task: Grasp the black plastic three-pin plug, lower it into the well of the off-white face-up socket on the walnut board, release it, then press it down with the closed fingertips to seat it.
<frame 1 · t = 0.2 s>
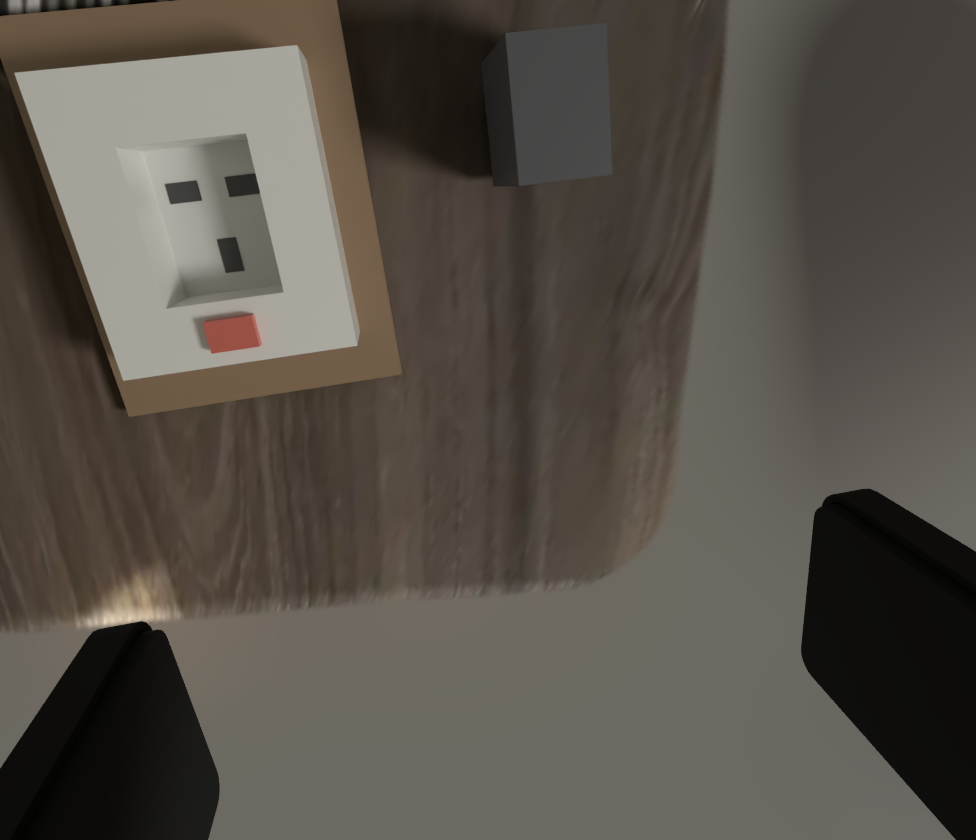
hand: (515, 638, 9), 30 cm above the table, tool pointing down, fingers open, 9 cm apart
socket: (227, 219, 34), on the table
plug: (522, 124, 34), on the table
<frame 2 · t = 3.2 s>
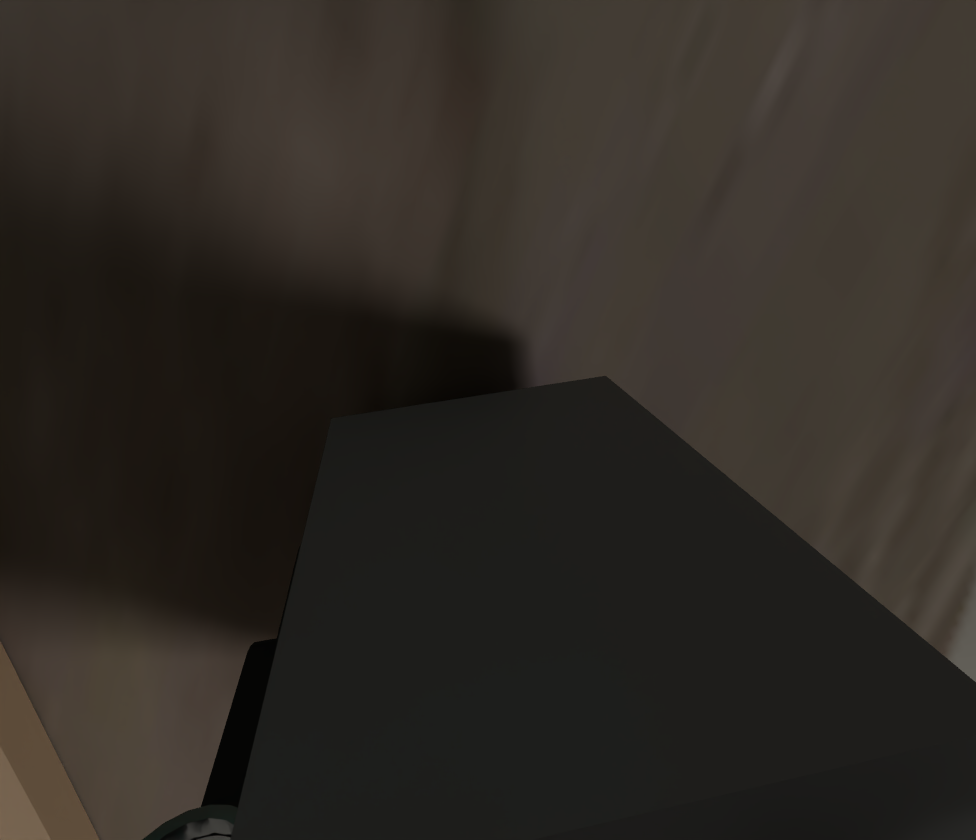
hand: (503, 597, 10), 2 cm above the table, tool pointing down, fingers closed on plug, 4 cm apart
plug: (481, 522, 12), on the table, touching gripper
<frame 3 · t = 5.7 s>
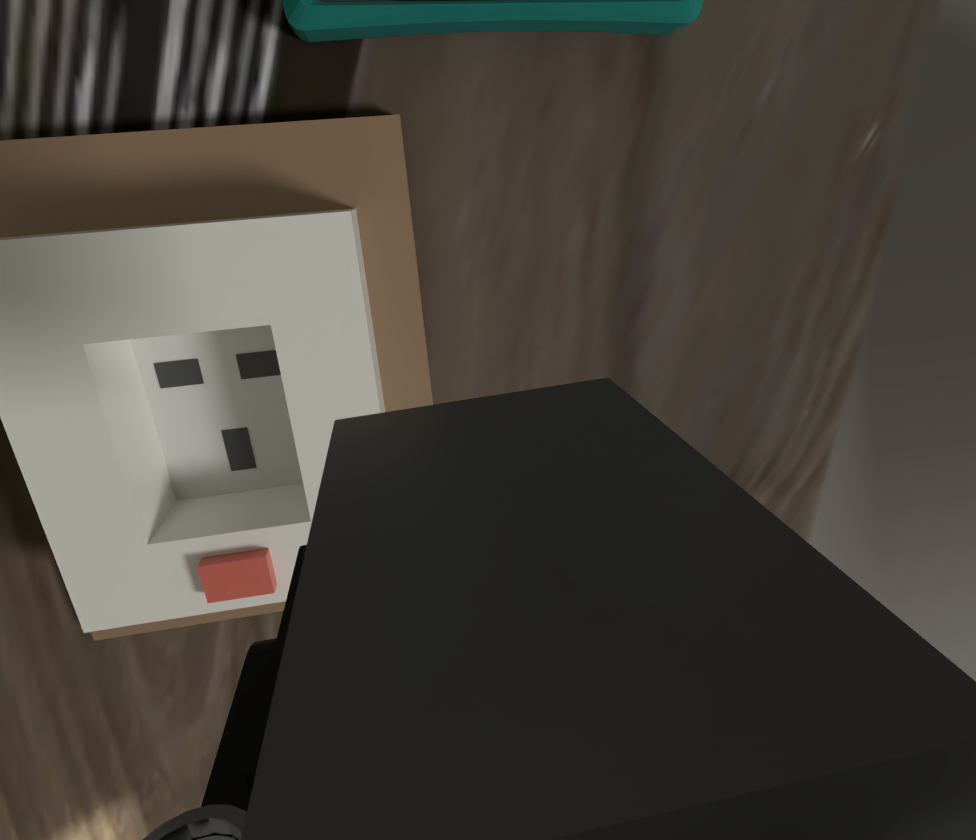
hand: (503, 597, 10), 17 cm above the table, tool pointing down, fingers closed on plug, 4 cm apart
socket: (236, 398, 25), on the table
plug: (484, 524, 12), point 15 cm above the table, touching gripper
when the fingers open (5 cm above the table, at t = 8.3 s): plug drops 2 cm, resting on socket.
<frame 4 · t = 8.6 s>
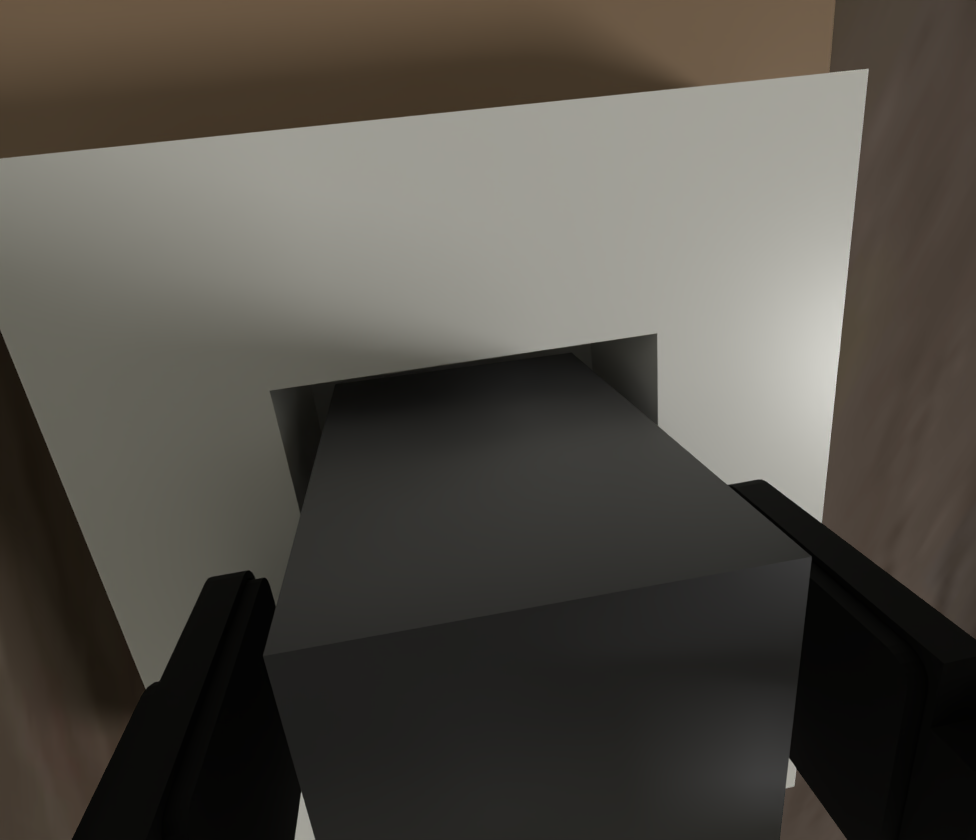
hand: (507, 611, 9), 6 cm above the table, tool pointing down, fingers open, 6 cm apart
socket: (463, 460, 15), on the table
plug: (465, 484, 13), point 1 cm above the table, touching socket
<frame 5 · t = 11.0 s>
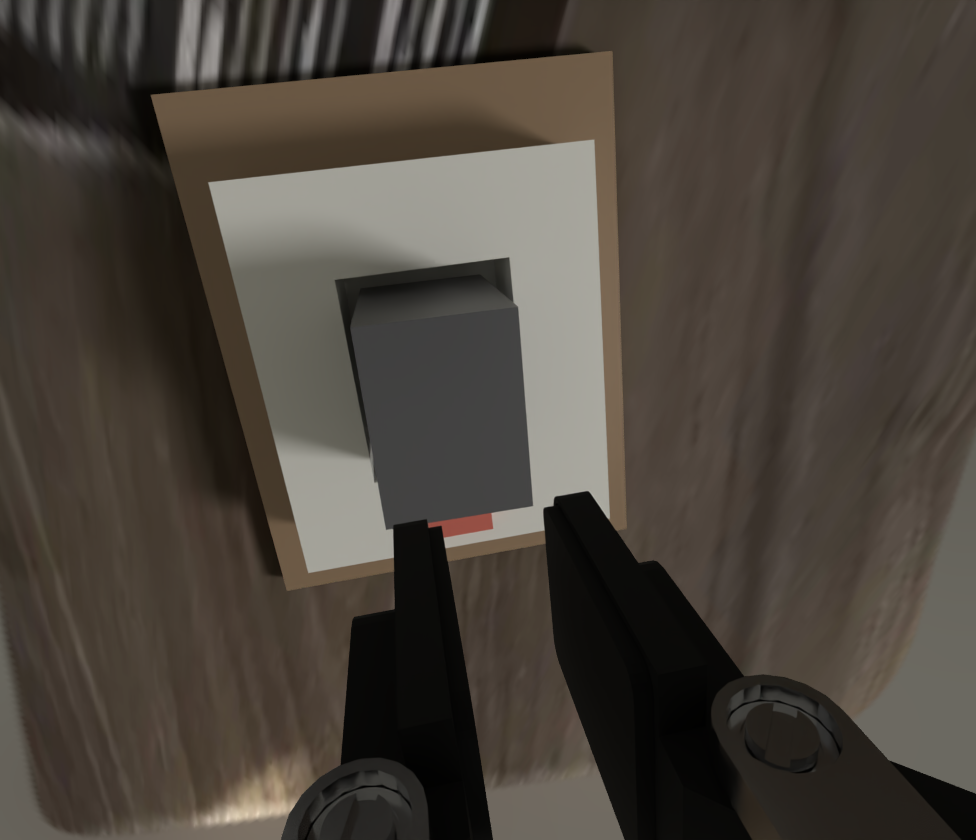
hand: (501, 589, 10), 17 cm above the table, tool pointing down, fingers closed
socket: (429, 345, 26), on the table
plug: (429, 352, 25), point 1 cm above the table, touching socket
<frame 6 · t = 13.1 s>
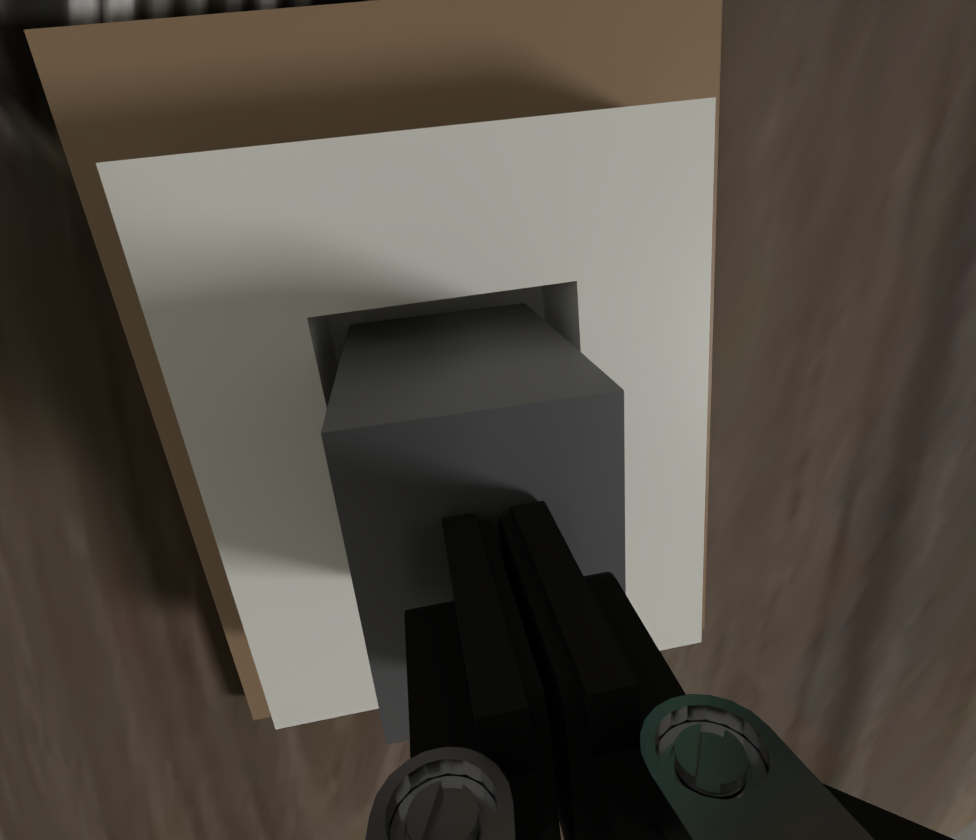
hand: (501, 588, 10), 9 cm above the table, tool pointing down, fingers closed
socket: (447, 394, 19), on the table
plug: (447, 409, 17), point 1 cm above the table, touching gripper, socket
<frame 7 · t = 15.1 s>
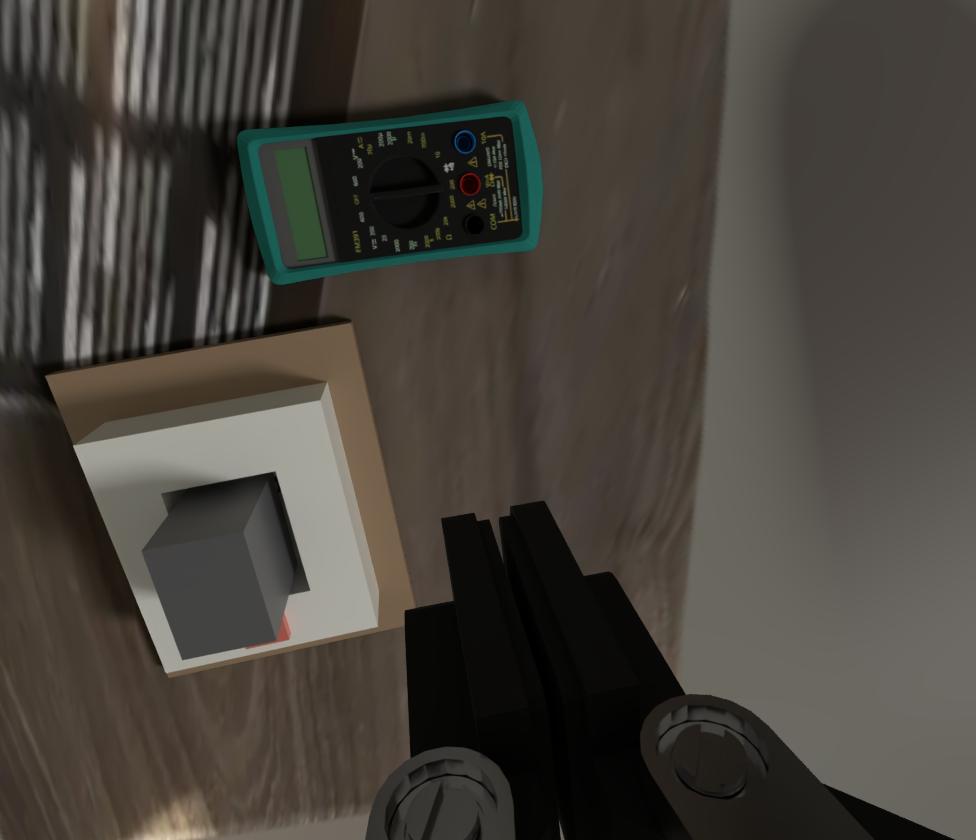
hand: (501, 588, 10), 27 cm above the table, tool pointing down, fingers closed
socket: (256, 505, 37), on the table
digital multimeter: (395, 195, 33), on the table
plug: (250, 515, 36), point 1 cm above the table, touching socket
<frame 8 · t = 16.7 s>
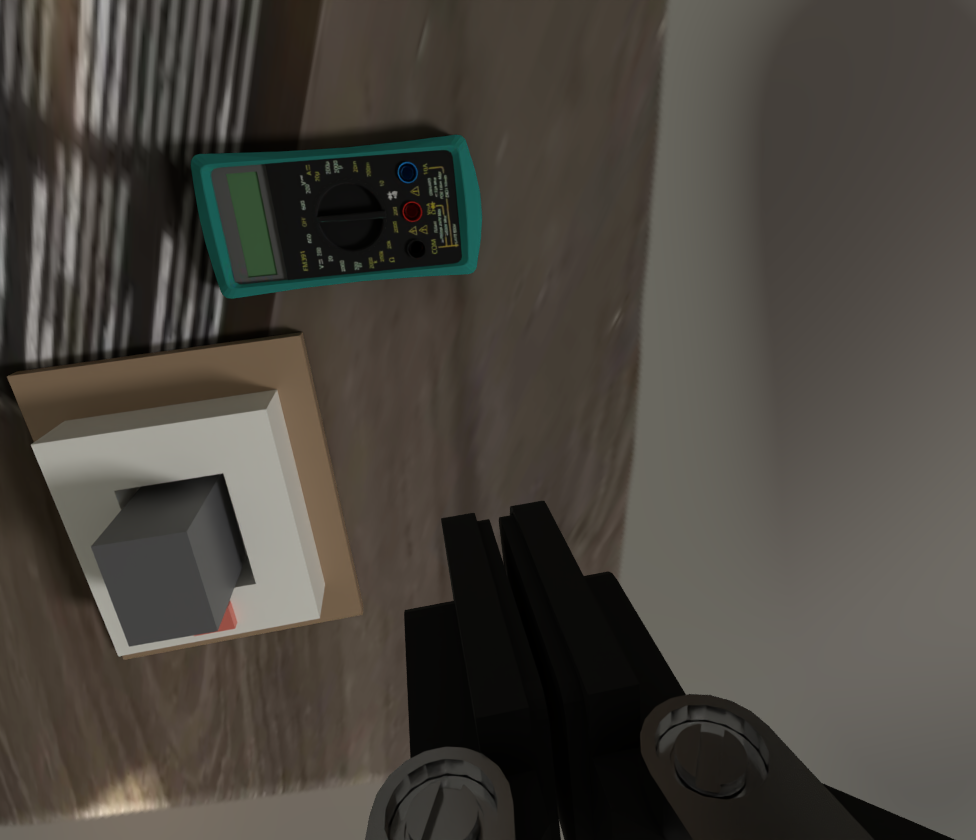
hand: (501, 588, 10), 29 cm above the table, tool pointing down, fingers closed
socket: (209, 501, 39), on the table
digital multimeter: (345, 216, 35), on the table
plug: (202, 511, 38), point 1 cm above the table, touching socket
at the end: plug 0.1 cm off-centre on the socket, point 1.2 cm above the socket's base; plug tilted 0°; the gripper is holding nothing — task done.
